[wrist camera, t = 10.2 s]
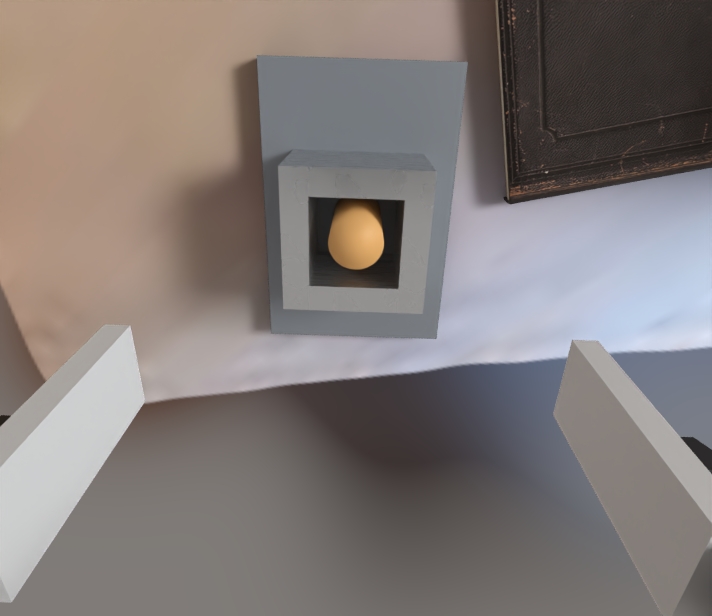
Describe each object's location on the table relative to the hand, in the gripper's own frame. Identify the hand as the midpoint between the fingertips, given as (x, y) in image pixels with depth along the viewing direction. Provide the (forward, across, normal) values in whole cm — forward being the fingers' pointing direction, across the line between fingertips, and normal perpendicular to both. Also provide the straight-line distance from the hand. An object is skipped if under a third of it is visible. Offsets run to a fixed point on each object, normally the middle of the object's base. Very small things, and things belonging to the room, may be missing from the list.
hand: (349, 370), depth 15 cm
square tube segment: (+19, 0, 0) cm, 19 cm away
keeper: (+20, 0, 0) cm, 20 cm away
